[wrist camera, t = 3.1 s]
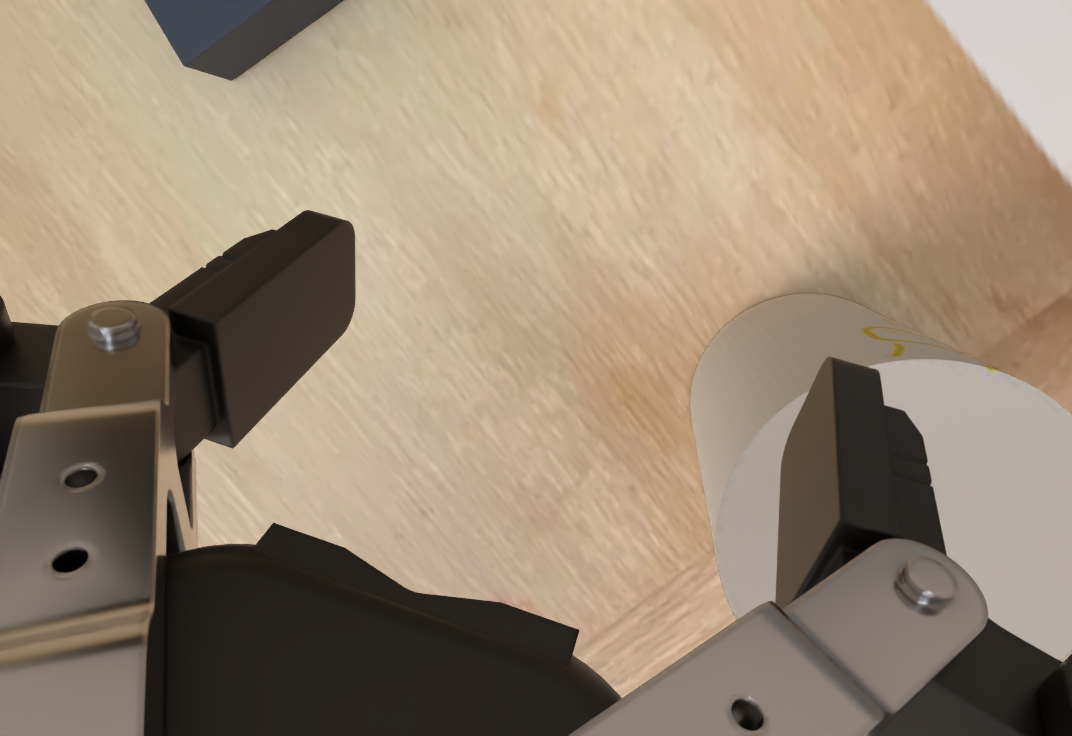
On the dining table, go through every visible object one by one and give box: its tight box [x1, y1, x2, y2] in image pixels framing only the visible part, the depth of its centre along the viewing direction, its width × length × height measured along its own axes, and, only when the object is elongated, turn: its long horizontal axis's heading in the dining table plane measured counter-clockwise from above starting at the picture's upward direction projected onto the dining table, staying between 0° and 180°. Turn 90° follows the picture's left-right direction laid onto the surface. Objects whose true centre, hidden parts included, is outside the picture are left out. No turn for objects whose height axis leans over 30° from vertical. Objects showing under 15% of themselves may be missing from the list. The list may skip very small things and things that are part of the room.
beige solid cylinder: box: [690, 293, 1072, 661], centre depth 22 cm, size 8×8×12 cm
